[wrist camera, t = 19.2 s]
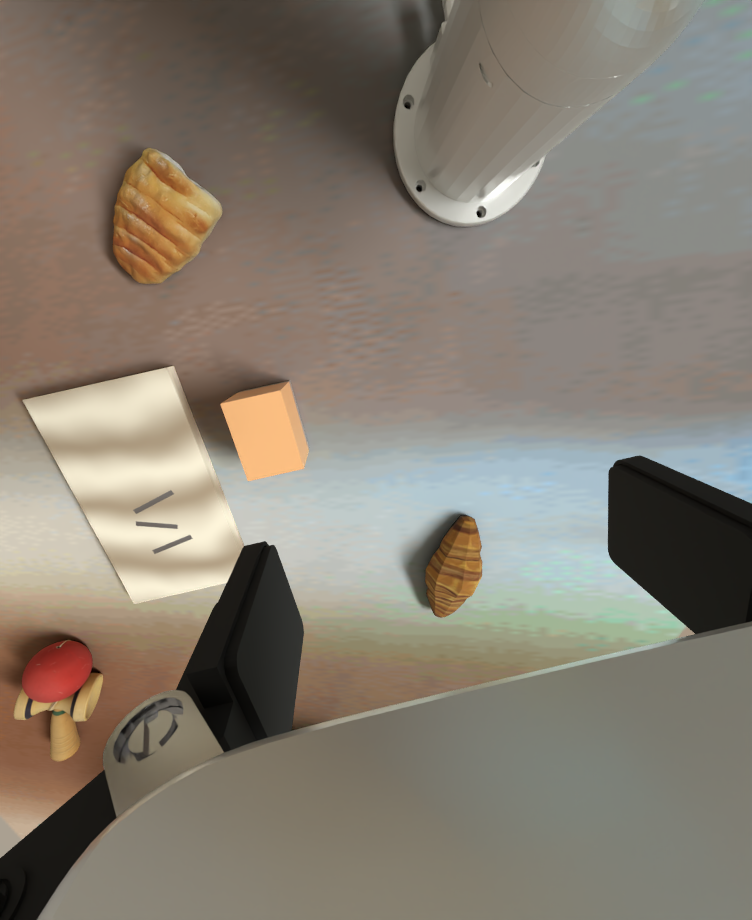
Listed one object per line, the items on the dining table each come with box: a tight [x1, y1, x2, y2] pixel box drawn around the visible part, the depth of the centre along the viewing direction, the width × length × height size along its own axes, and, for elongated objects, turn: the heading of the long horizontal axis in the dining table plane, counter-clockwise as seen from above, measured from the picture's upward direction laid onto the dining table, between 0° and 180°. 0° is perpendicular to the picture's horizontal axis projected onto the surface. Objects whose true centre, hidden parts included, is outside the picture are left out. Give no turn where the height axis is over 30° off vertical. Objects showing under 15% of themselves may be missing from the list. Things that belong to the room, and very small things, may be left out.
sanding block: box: [220, 380, 309, 481], centre depth 34 cm, size 7×5×6 cm
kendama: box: [14, 640, 103, 761], centre depth 44 cm, size 8×6×18 cm
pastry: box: [113, 148, 222, 284], centre depth 30 cm, size 9×7×4 cm
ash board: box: [23, 366, 244, 604], centre depth 38 cm, size 23×13×2 cm, turn 12°
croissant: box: [425, 515, 482, 617], centre depth 43 cm, size 14×7×5 cm, turn 169°
